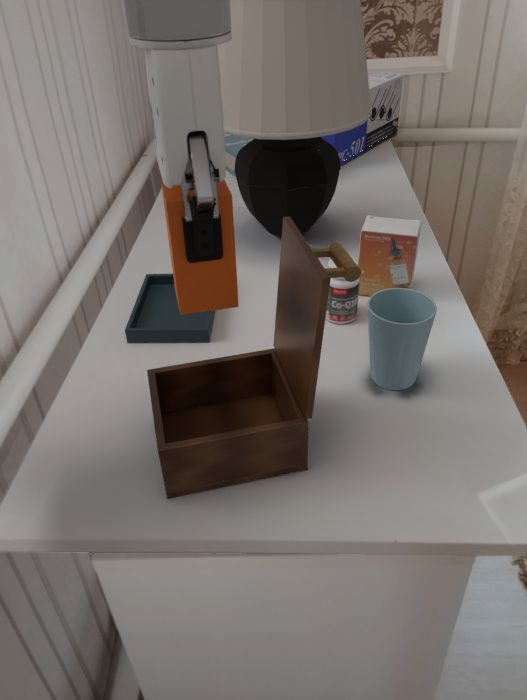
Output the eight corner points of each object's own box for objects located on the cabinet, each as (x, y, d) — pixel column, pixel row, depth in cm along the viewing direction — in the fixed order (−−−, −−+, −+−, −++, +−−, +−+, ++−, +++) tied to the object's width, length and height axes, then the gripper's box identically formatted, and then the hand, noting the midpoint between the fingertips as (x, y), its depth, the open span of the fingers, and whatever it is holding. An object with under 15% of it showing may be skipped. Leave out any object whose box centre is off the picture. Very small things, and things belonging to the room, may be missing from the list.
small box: (354, 295, 89) (359, 230, 83) (361, 277, 93) (365, 213, 87) (409, 302, 87) (418, 236, 81) (413, 283, 91) (422, 219, 85)
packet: (180, 315, 55) (165, 202, 49) (175, 291, 59) (161, 182, 52) (238, 307, 56) (232, 195, 50) (230, 283, 60) (223, 176, 53)
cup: (351, 384, 73) (356, 312, 66) (375, 351, 78) (382, 281, 72) (411, 404, 69) (423, 330, 63) (432, 368, 75) (445, 297, 68)
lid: (323, 278, 49) (381, 274, 50) (283, 216, 59) (332, 214, 60) (305, 419, 58) (355, 413, 59) (273, 345, 67) (316, 340, 69)
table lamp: (203, 270, 97) (172, -19, 73) (218, 203, 118) (198, -37, 94) (372, 268, 95) (397, -28, 72) (356, 200, 117) (371, -44, 93)
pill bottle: (330, 327, 83) (332, 274, 78) (318, 309, 86) (319, 257, 81) (362, 321, 83) (366, 268, 78) (349, 304, 87) (352, 252, 82)
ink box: (334, 171, 130) (336, 103, 122) (308, 165, 134) (309, 98, 125) (399, 134, 149) (405, 73, 141) (375, 130, 153) (380, 70, 144)
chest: (167, 499, 60) (157, 451, 55) (155, 415, 69) (146, 369, 65) (308, 469, 62) (308, 422, 58) (277, 393, 72) (276, 347, 68)
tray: (209, 342, 81) (207, 329, 79) (127, 342, 81) (124, 330, 80) (219, 284, 93) (218, 272, 92) (148, 285, 93) (146, 273, 92)
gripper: (122, 7, 49) (152, 214, 60) (132, 41, 36) (168, 299, 47) (212, 1, 51) (225, 205, 62) (253, 33, 37) (261, 286, 48)
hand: (200, 244), depth 54 cm, fingers closed on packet, 4 cm apart
